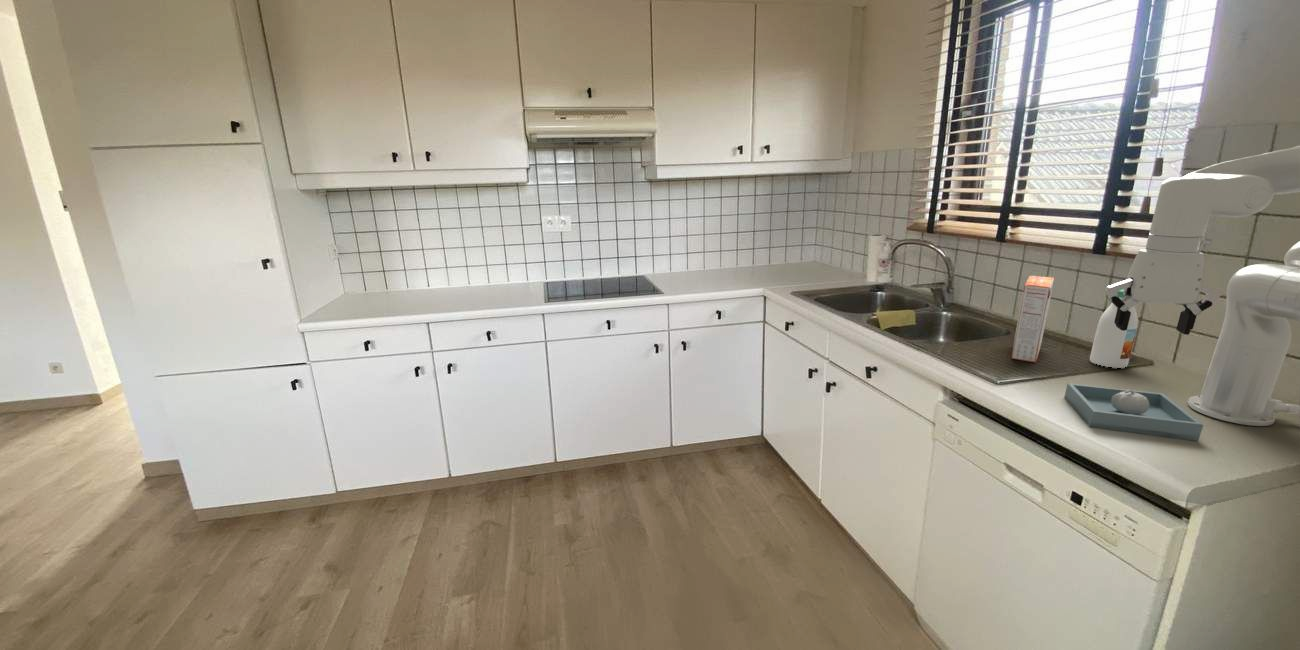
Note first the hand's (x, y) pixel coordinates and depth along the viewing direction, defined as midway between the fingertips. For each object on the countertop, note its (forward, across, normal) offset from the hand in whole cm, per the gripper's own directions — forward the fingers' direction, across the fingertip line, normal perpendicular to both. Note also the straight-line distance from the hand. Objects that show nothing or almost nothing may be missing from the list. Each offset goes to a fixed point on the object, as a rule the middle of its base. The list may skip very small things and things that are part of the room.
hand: (1151, 330), depth 105 cm
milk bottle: (+20, -8, -35) cm, 41 cm away
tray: (+19, +1, 0) cm, 19 cm away
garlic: (+18, 0, 0) cm, 18 cm away
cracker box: (+19, +10, -37) cm, 43 cm away
